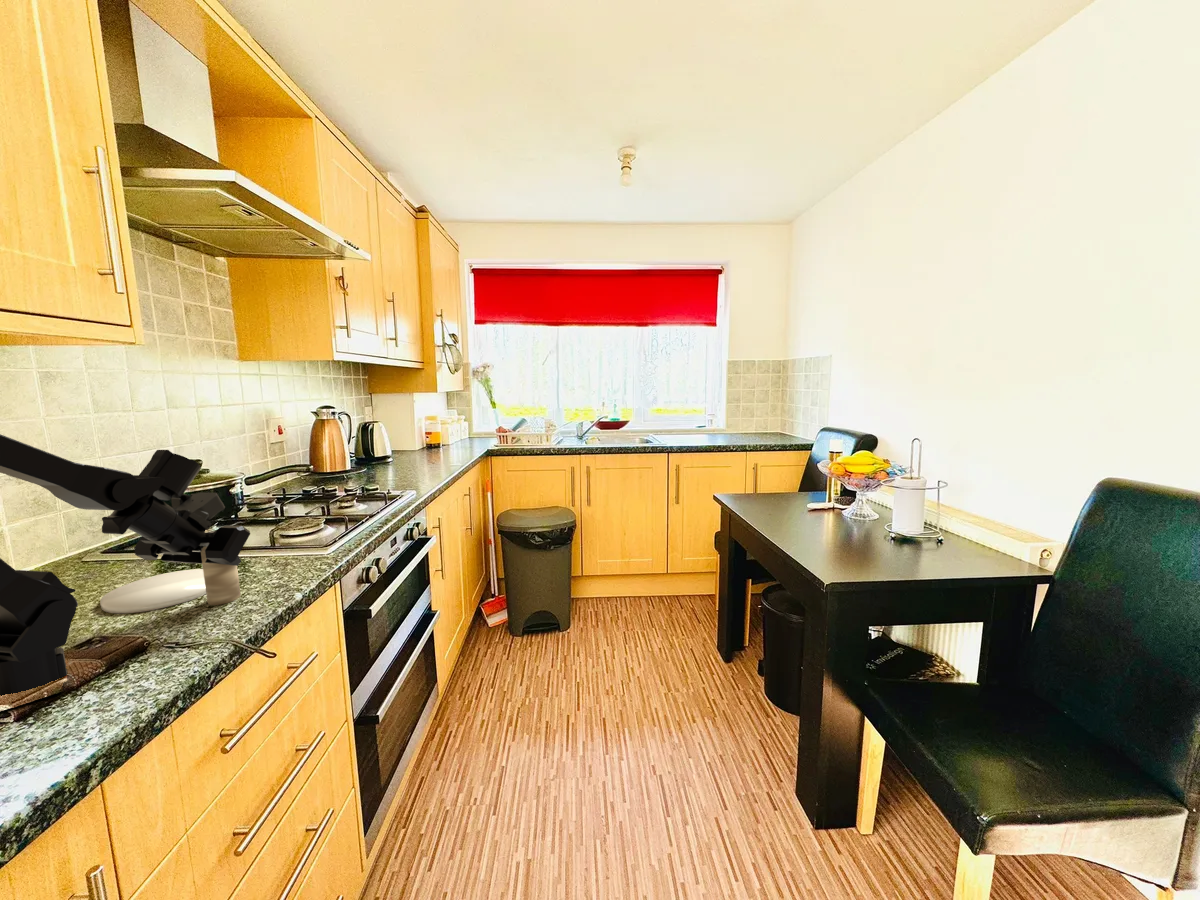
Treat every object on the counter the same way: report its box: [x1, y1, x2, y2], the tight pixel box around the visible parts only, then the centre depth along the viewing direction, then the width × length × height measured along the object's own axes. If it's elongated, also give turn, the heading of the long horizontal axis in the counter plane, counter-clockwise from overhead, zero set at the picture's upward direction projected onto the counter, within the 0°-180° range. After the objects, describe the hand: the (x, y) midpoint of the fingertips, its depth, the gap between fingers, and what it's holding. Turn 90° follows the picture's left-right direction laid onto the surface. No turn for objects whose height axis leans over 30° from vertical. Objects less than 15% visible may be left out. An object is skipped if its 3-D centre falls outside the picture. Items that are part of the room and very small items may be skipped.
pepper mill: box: [201, 530, 242, 606], centre depth 93 cm, size 5×5×13 cm
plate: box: [99, 568, 206, 614], centre depth 98 cm, size 18×18×1 cm
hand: (226, 562), depth 94 cm, fingers closed on pepper mill, 5 cm apart
